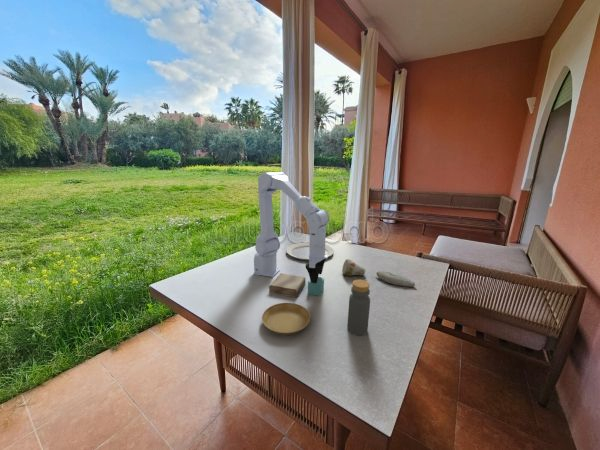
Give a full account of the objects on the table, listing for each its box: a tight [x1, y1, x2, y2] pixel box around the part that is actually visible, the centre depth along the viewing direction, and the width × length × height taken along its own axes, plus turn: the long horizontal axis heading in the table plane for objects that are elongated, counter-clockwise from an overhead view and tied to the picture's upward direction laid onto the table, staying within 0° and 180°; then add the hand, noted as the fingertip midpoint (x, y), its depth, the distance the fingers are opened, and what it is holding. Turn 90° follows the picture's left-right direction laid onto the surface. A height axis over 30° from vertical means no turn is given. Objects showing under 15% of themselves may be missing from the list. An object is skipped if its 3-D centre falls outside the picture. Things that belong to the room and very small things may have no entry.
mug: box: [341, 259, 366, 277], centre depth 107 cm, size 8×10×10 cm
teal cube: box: [307, 276, 325, 296], centre depth 92 cm, size 5×5×5 cm
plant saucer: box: [261, 302, 311, 336], centre depth 75 cm, size 15×15×3 cm
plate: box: [286, 241, 334, 261], centre depth 132 cm, size 26×26×2 cm
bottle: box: [346, 279, 371, 336], centre depth 70 cm, size 6×6×15 cm
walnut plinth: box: [268, 273, 307, 298], centre depth 95 cm, size 11×11×3 cm
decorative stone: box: [375, 270, 416, 288], centre depth 101 cm, size 6×16×3 cm, turn 57°
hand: (316, 278), depth 92 cm, fingers open, 7 cm apart
